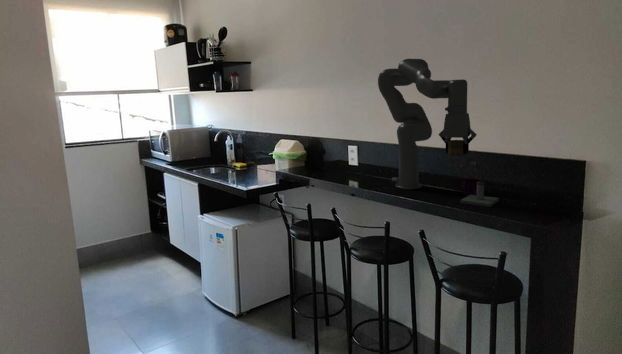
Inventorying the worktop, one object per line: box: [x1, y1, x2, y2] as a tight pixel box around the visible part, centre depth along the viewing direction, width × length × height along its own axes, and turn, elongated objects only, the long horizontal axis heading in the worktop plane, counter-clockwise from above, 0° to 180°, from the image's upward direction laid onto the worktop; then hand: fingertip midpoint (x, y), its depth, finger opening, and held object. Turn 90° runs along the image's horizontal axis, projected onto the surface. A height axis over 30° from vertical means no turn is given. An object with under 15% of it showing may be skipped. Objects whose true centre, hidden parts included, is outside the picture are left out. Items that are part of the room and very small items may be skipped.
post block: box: [459, 181, 500, 208], centre depth 183 cm, size 12×12×8 cm
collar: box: [447, 139, 467, 157], centre depth 185 cm, size 7×7×6 cm
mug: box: [458, 178, 481, 197], centre depth 197 cm, size 7×10×7 cm
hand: (456, 152), depth 185 cm, fingers closed on collar, 6 cm apart
